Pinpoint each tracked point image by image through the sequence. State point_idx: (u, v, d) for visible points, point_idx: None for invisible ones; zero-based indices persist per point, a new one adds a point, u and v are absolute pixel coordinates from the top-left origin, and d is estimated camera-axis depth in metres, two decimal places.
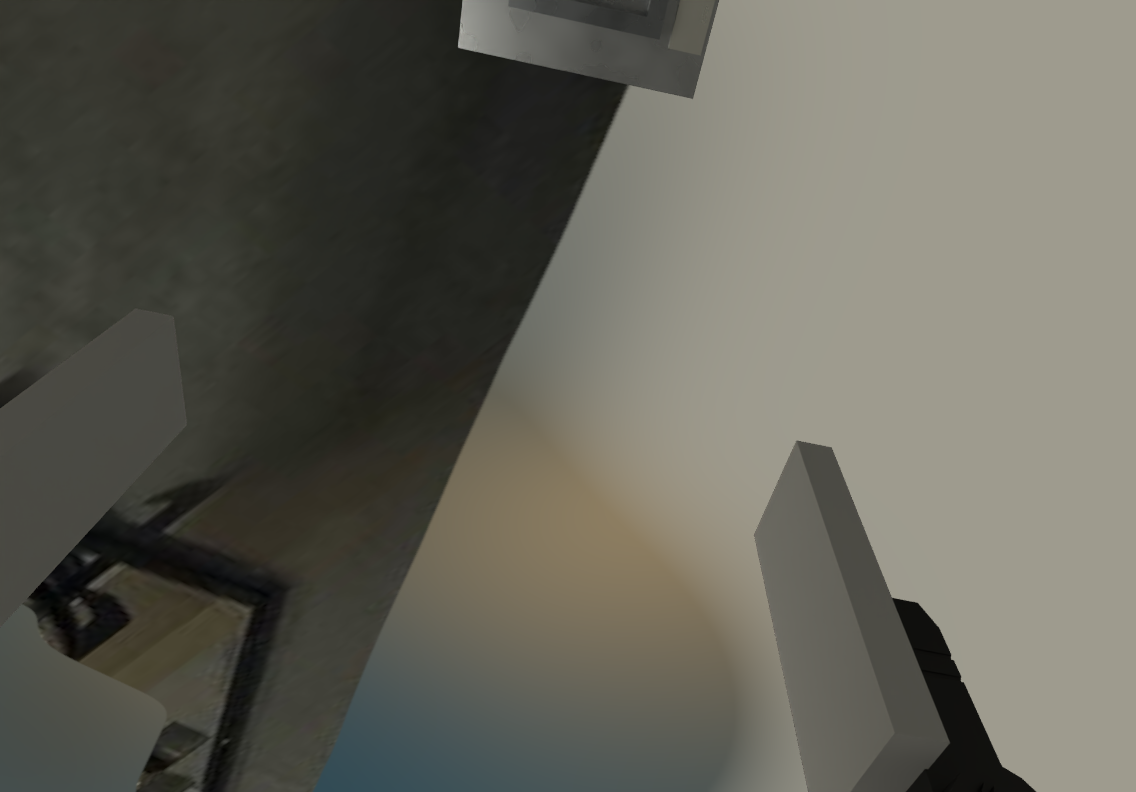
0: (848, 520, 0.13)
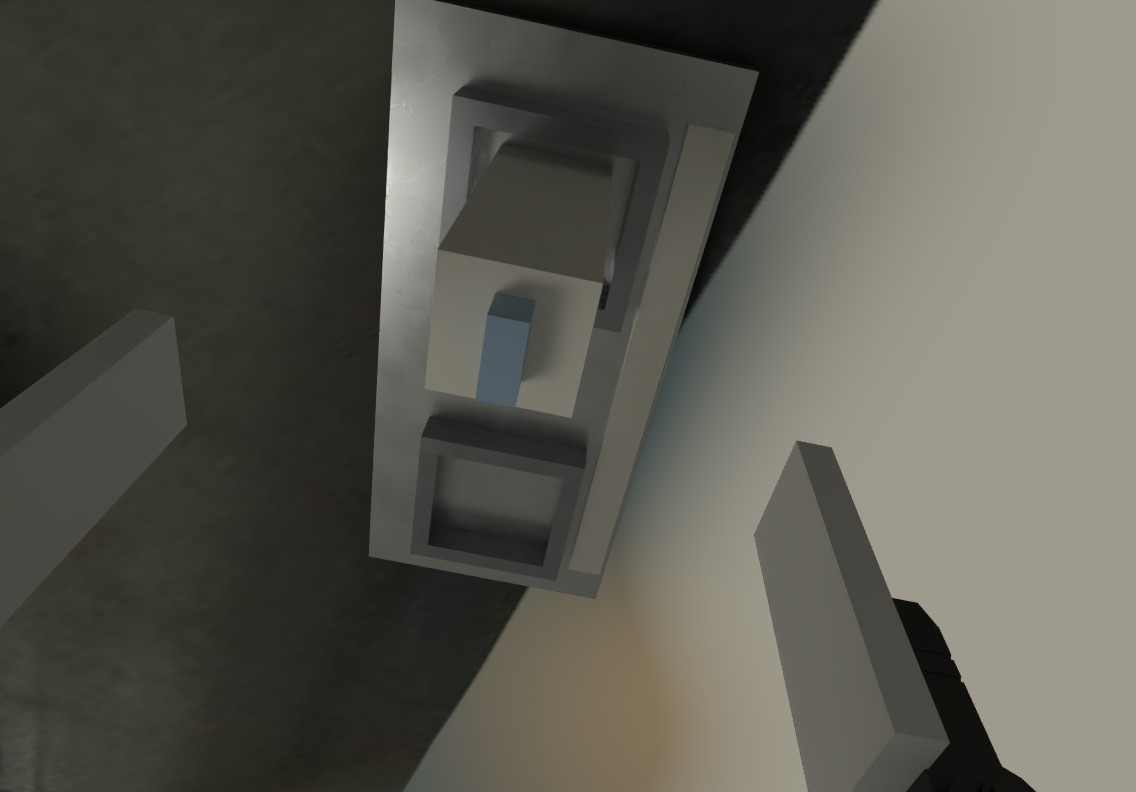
0: (848, 520, 0.13)
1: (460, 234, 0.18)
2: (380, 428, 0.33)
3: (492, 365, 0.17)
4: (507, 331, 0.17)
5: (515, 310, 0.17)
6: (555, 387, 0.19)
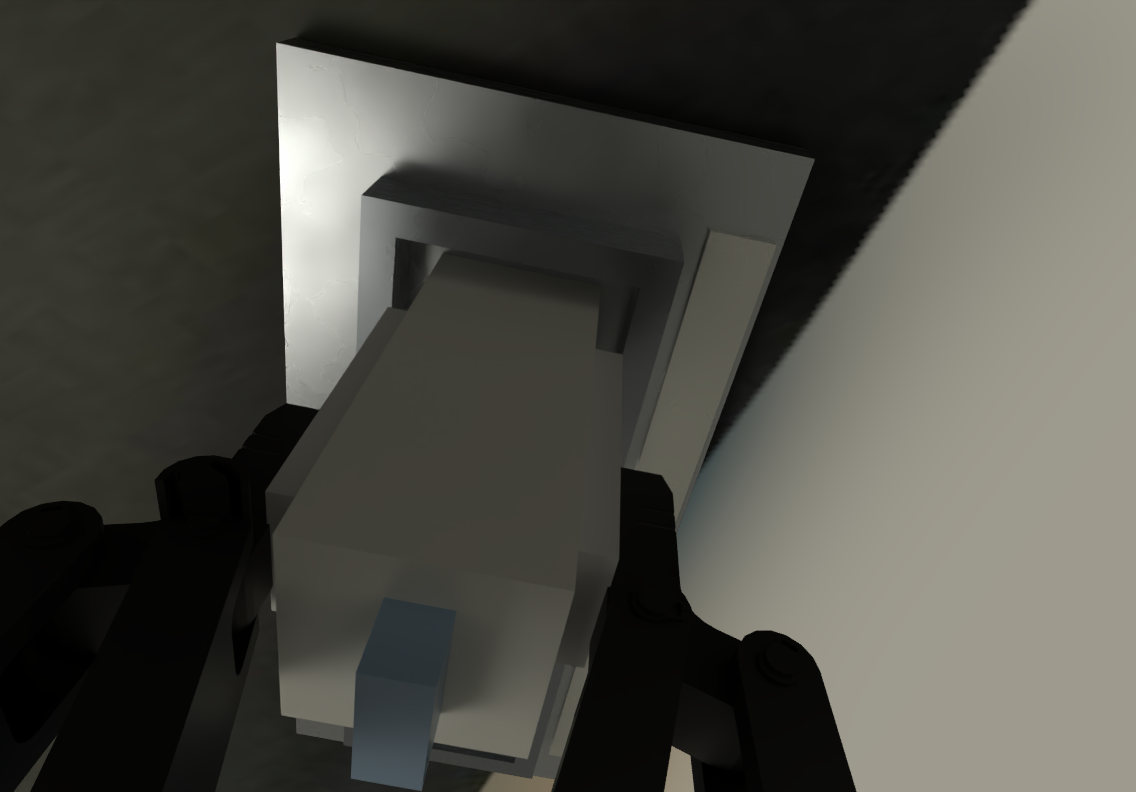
0: (609, 406, 0.15)
1: (327, 480, 0.10)
2: None
3: (375, 739, 0.09)
4: (396, 696, 0.09)
5: (413, 648, 0.09)
6: (498, 721, 0.11)
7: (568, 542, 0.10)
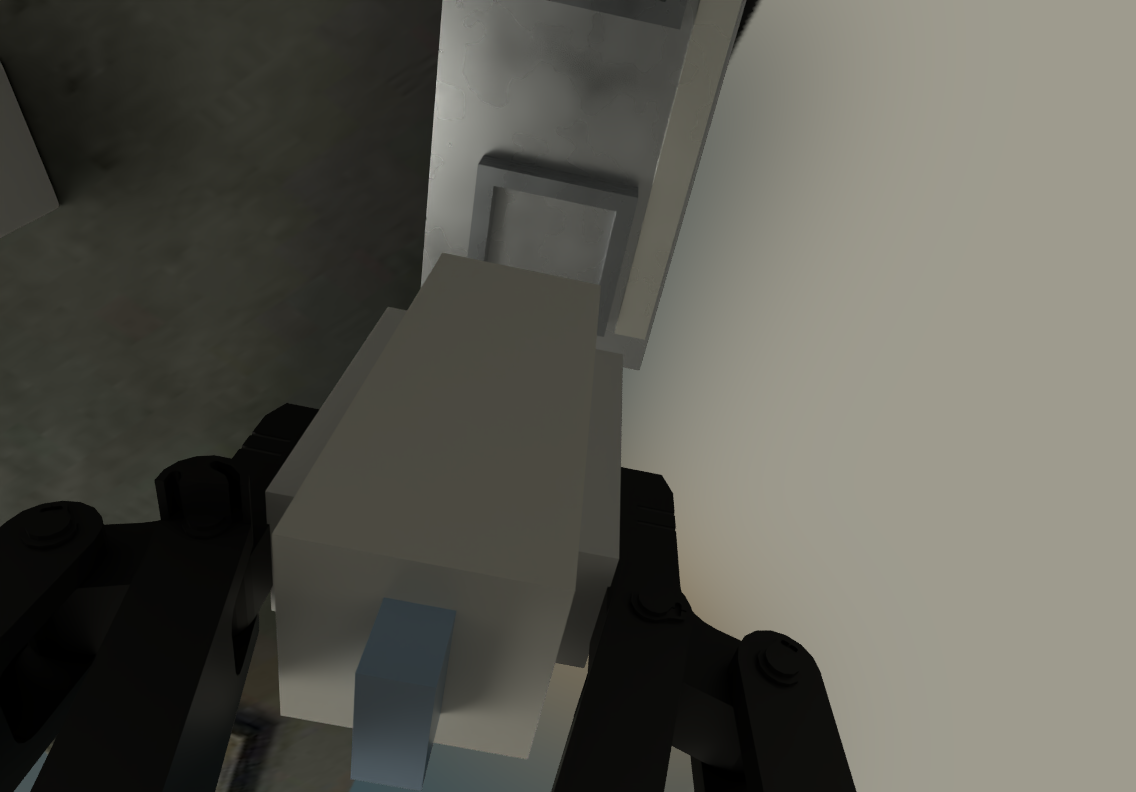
0: (609, 406, 0.15)
1: (327, 479, 0.10)
2: (435, 170, 0.33)
3: (374, 739, 0.09)
4: (396, 696, 0.09)
5: (413, 648, 0.09)
6: (498, 722, 0.11)
7: (568, 542, 0.10)
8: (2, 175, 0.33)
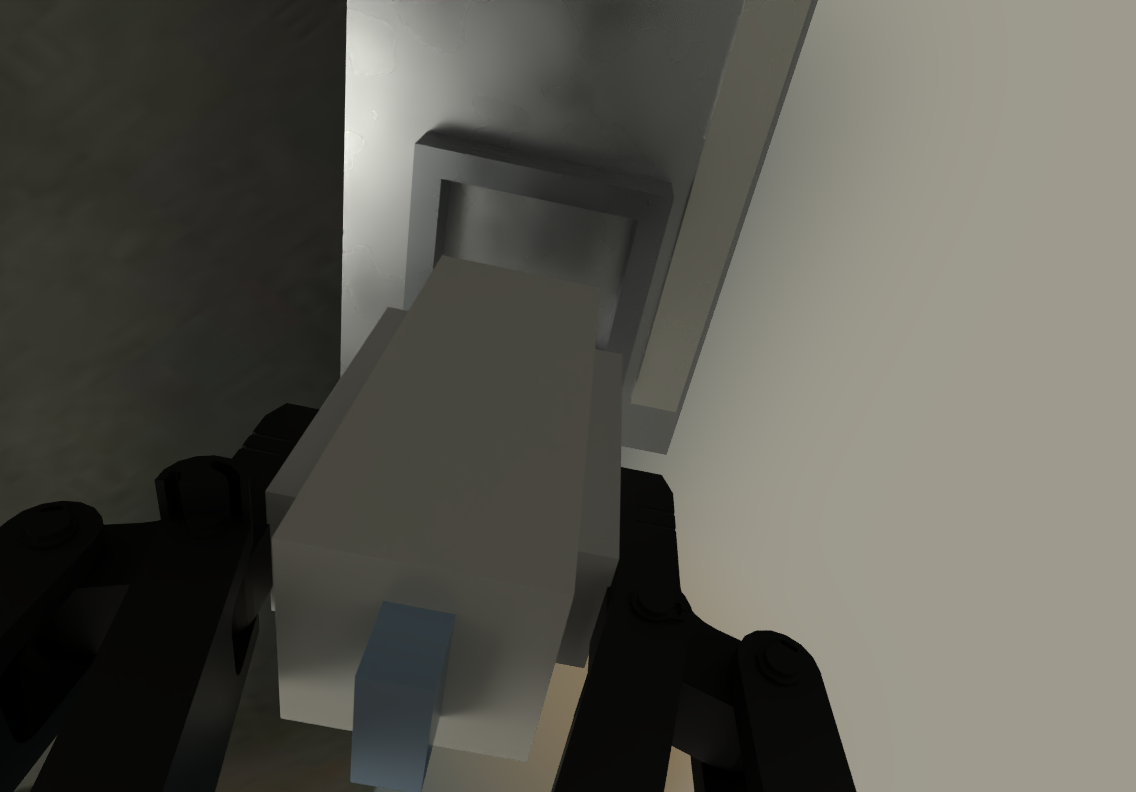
0: (609, 406, 0.15)
1: (327, 484, 0.10)
2: (352, 156, 0.21)
3: (374, 742, 0.09)
4: (395, 700, 0.09)
5: (412, 652, 0.09)
6: (498, 724, 0.11)
7: (567, 545, 0.10)
8: None
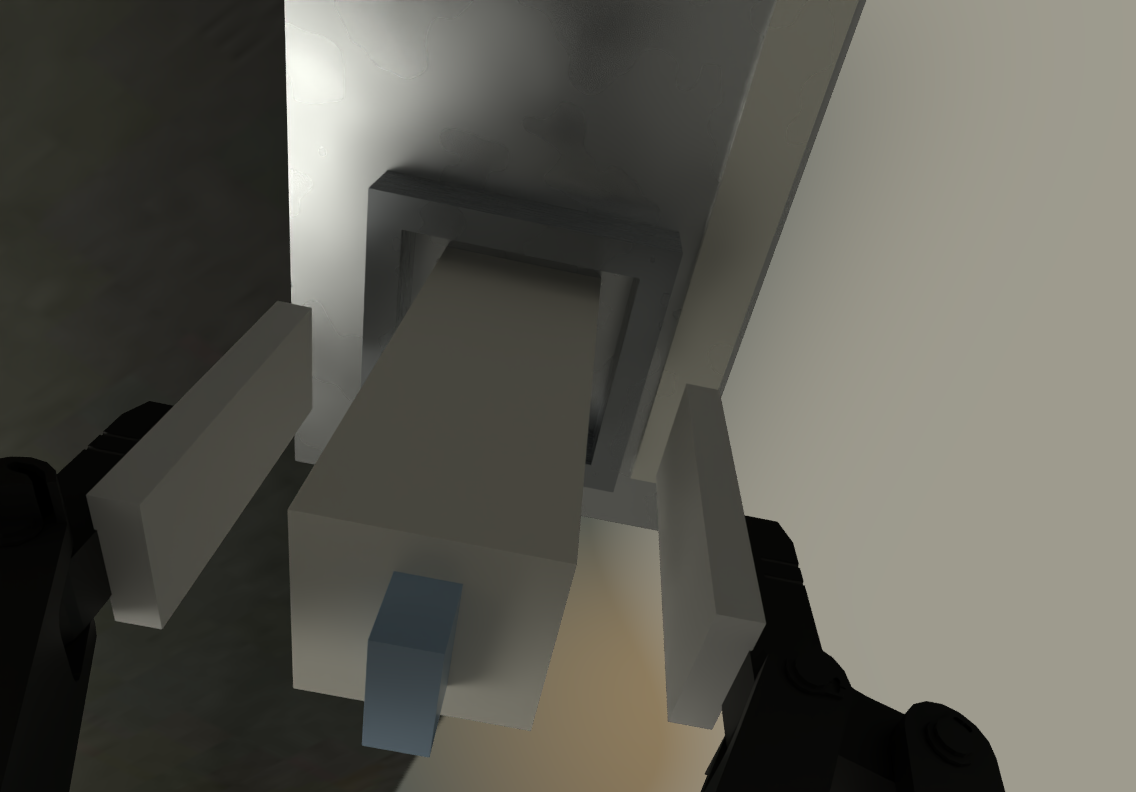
0: (719, 448, 0.14)
1: (339, 460, 0.11)
2: (299, 199, 0.18)
3: (385, 705, 0.10)
4: (406, 663, 0.09)
5: (422, 618, 0.10)
6: (503, 693, 0.12)
7: (570, 519, 0.11)
8: None
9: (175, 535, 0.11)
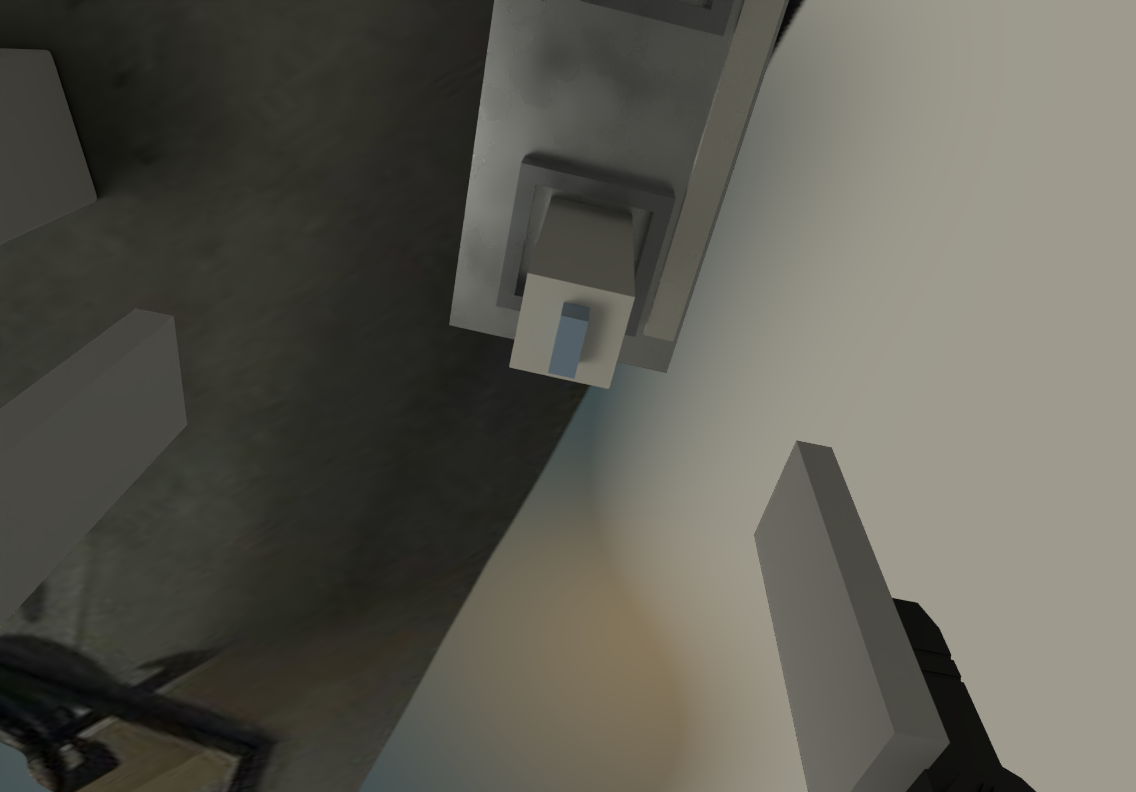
0: (848, 520, 0.13)
1: (538, 262, 0.27)
2: (476, 169, 0.34)
3: (561, 349, 0.26)
4: (573, 326, 0.26)
5: (578, 313, 0.26)
6: (599, 367, 0.28)
7: (630, 287, 0.27)
8: (47, 164, 0.33)
9: None
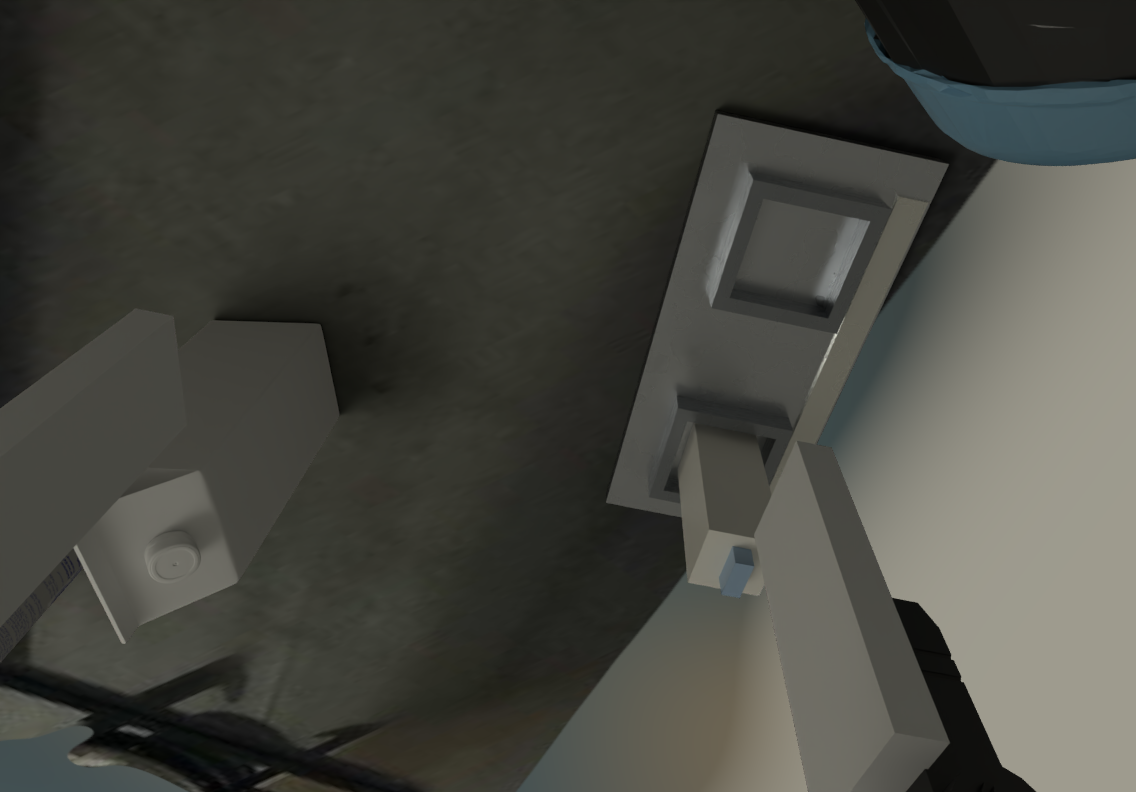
0: (848, 520, 0.13)
1: (712, 514, 0.38)
2: (638, 403, 0.45)
3: (733, 581, 0.37)
4: (743, 569, 0.37)
5: (745, 558, 0.37)
6: (753, 583, 0.39)
7: None
8: (319, 408, 0.45)
9: None
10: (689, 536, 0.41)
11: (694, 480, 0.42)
